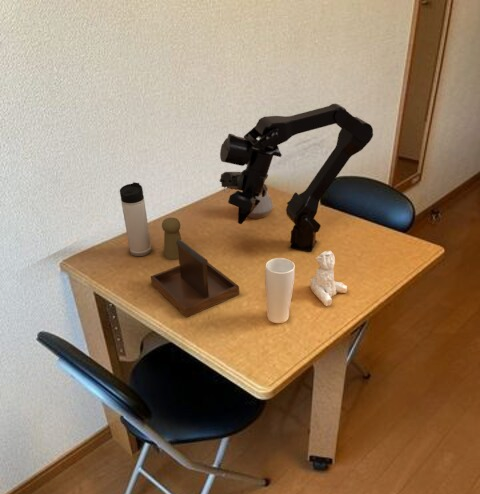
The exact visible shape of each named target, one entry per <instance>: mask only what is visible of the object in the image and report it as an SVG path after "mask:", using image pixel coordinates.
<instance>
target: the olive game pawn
mask: <svg viewBox="0 0 480 494" xmlns="http://www.w3.org/2000/svg"><path fill="white" fill-rule="evenodd" d="M161 222H162V223H161V229H162V231H163V232H164V233H163V234H164V235H163V237H164V239H163V240H164V242H163V256H164V258H166V259H168V260H179V254H178V245H177V244H176V242H177V240H179V239H180V240H182V237H181V232H180V229H181V221H180V220H179V219H178V218H176V217H167V218H164V219H163V220H162V221H161Z"/></svg>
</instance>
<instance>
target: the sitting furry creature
mask: <svg viewBox="0 0 480 494" xmlns="http://www.w3.org/2000/svg"><path fill="white" fill-rule="evenodd" d="M314 260H315V261H316V262H317V263H318V265H319V267H318V268H317V270H316V272H315V275H314V276H313V277H311V278H310V280H309V282H310V283H309V284H310V285H309V287H310V290H311V291H312V293H313V294H314V295H315V296H316V298H317V299H318V300H319V301H320V302H321V303H322V304H323V305H324V306H326V307H329V306H331V304H332V303H333V298H332V297H334V296H336V295H337V294H338V293H339V294H340V293H341V294H347V290H348V286H347V285H346V284H344V283H343V282H340V281H336V280H335V272H334V268H335V264H336V258H335V253H333V251H332V250H331V249H330V250H324V251H323V252H321V253H320V254H319V255H318V256H315V258H314Z"/></svg>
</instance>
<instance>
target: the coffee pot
mask: <svg viewBox="0 0 480 494" xmlns="http://www.w3.org/2000/svg"><path fill="white" fill-rule="evenodd" d="M225 188H227V189H228V190H229V191H228V192H227V191H226V190H225ZM231 190H235V191H239V190H238V189H237V186H236V187H232V186H226V187H223V191H224V193H226V194H228V193H230V192H231ZM256 199H258V200H260V203H259V204H258V205H257V206H256V207H255V209H254V210H253V211H252V212H251V213H250V215H249V216H248V217H247V218H249V219H254V220H255V219H256V220H257V219H258V220H259V219H262V218H265V217H266V216H267V215H269V213H271V212H272V210H273V209H274V204H273V200H272V199H271V196H270V193H269V192H268V190H267V193H266V195H265V196H264V197H262V194H261V195H260V196H258V197H257V196H256Z"/></svg>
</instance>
